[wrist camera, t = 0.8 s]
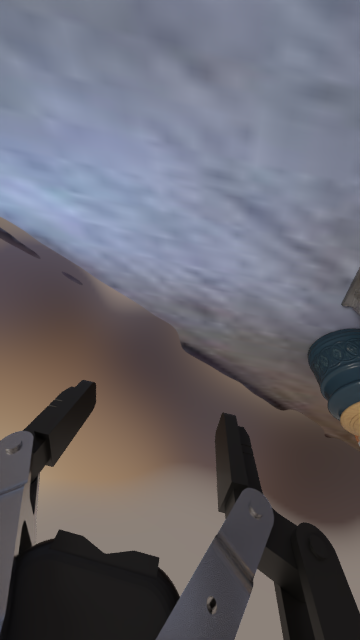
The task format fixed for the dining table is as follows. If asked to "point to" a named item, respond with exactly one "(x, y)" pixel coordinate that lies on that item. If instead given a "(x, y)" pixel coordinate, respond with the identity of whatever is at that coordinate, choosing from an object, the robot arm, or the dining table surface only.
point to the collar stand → (353, 294)
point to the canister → (339, 375)
